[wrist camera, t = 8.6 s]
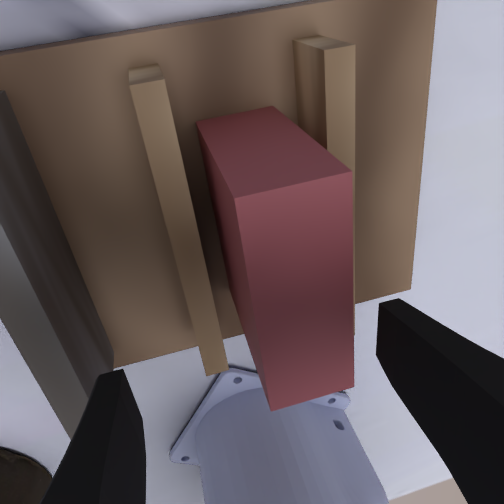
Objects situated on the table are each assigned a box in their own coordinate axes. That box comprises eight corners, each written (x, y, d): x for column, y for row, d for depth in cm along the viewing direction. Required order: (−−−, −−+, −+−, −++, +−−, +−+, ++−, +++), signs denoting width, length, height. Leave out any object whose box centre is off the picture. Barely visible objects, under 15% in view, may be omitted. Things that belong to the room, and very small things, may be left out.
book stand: (415, -17, 17) (550, -18, 12) (396, 273, 25) (472, 354, 19) (-80, 64, 15) (-200, 111, 9) (68, 359, 22) (50, 479, 17)
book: (273, 105, 17) (352, 171, 11) (290, 275, 21) (354, 387, 15) (195, 121, 16) (234, 198, 10) (229, 290, 21) (271, 412, 15)
